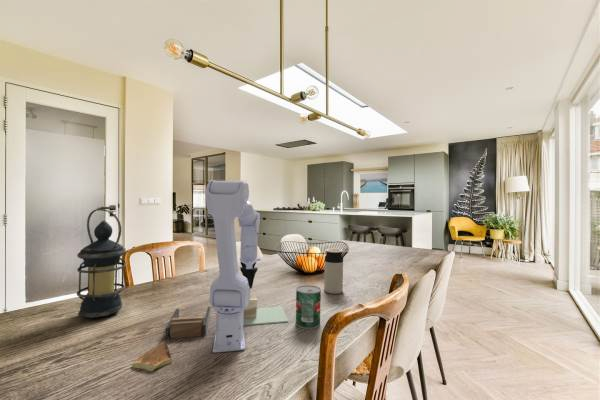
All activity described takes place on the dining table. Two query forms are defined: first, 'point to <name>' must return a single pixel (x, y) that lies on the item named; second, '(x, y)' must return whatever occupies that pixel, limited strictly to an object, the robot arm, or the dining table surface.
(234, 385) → the dining table surface
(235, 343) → the robot arm
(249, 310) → the birch block
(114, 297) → the lantern
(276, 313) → the rubber mat
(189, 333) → the offcut stack
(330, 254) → the travel mug
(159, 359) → the shard
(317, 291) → the canned tomato
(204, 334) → the rack
